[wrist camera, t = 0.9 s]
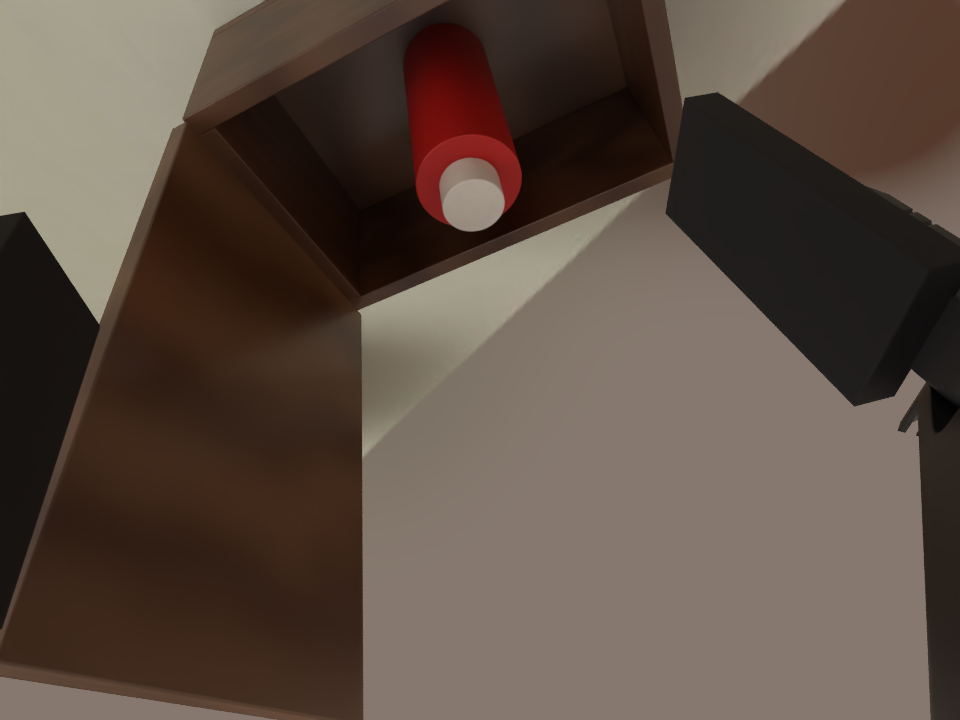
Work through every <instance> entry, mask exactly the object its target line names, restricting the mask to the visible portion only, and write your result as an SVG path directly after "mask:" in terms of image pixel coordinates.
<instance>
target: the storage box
mask: <svg viewBox="0 0 960 720" xmlns="http://www.w3.org/2000/svg"><path fill="white" fill-rule="evenodd" d="M440 23H451V24H456V25H460V26H462V27H464V28H466V29H468V30H469V31H471V32H472V33H473V34H474V35H475V36H476V37H477V38H478V39H479V41H480V42H481V43H482V45H483V47H484V50H485V53H486V56H487V59H488V62H489V66H490V69H491V72H492V75H493V79H494V82H495V85H496V88H497V92H498V95H499V98H500V101H501V105H502V108H503V111H504V114H505V118H506V121H507V124H508V128H509V131H510V134H511V137H512V141H513V144H514V147H515V150H516V154H517V157H518V160H519V163H520V167H521V172H522V181H521V187H520V191H519V193H518V195H517V198H516V199H515V201H514V203H513V204H512V205H511V206H510V208H509V209H508V210H507V211H506V212H505V213H503V214H502V215H501V216H500V218H499V219H498V220H497V221H496V222H495V223H494V224H493V225H491V226H490V227H488V228H486V229H483V230H479V231H463V230H460V229H457V228H455V227H454V226H452V225H448V224H445V223H443V222H440V221H439V220H437V219H435V218H434V217H433V216H431V215H430V214H429V213H428V212H427V211H426V210H425V209H424V207H423V206H422V205H421V203H420V201H419V198H418V196H417V192H416V185H415V176H414V166H413V157H412V147H411V138H410V128H409V119H408V109H407V100H406V90H405V81H404V71H403V63H404V57H405V53H406V50H407V48H408V46H409V44H410V43H411V41H412V40H413V38H414V37H415V36H416V35H417V34H418V33H420V32H421V31H422V30H424V29H425V28H427V27H430V26H432V25H435V24H440ZM682 112H683V108H682V102H681V96H680V90H679V84H678V78H677V72H676V66H675V60H674V54H673V48H672V42H671V36H670V30H669V25H668V19H667V13H666V7H665V1H664V0H266V1H264V2H262V3H261V4H259V5H257V6H256V7H254V8H252V9H250V10H249V11H247V12H245V13H244V14H242V15H240V16H238V17H237V18H235V19H233V20H232V21H230V22H228V23H226V24H225V25H223V26H221V27H220V28H218V29H216V30H215V31H214V33H213V36H212V39H211V41H210V44H209V47H208V50H207V52H206V55H205V58H204V61H203V63H202V66H201V69H200V72H199V74H198V77H197V80H196V83H195V85H194V88H193V91H192V94H191V96H190V99H189V102H188V105H187V107H186V110H185V113H184V116H183V118H182V119H183V120H184V122H188V123H189V124H190V125H191V127H192V128H193V129H194V130H195V131H196V132H197V133H198V134H199V135H200V137H201V138H202V139H203V140H204V141H205V142H206V143H207V144H208V145H209V147H210V148H211V149H212V150H213V151H214V152H215V153H216V154H217V155H218V156H219V158H220V159H221V160H222V161H223V162H224V163H225V164H226V165H227V166H228V168H229V169H230V170H231V171H232V172H233V173H234V174H235V175H236V176H237V178H238V179H239V180H240V181H241V182H242V183H243V184H244V185H245V186H246V188H247V189H248V190H249V191H250V192H251V193H252V194H253V195H254V196H255V198H256V199H257V200H258V201H259V202H260V203H261V204H262V205H263V206H264V208H265V209H266V210H267V211H268V212H269V213H270V214H271V215H272V216H273V218H274V219H275V220H276V221H277V222H278V223H279V224H280V225H281V226H282V227H283V229H284V230H285V231H286V232H287V233H288V234H289V235H290V236H291V237H292V239H293V240H294V241H295V242H296V243H297V244H298V245H299V246H300V247H301V249H302V250H303V251H304V252H305V253H306V254H307V255H308V256H309V257H310V259H311V260H312V261H313V262H314V263H315V264H316V265H317V266H318V267H319V269H320V270H321V271H322V272H323V273H324V274H325V275H326V276H327V277H328V279H329V280H330V281H331V282H332V283H333V284H334V285H335V286H336V287H337V289H338V290H339V291H340V292H341V293H342V294H343V295H344V296H345V297H346V298H347V300H348V301H349V302H350V303H351V304H352V305H353V306H354V307H355V308H356V310H360V309H362V308H364V307H367V306H369V305H371V304H374V303H376V302H379V301H381V300H383V299H386V298H388V297H390V296H393V295H395V294H397V293H400V292H402V291H405V290H407V289H409V288H412V287H414V286H416V285H419V284H421V283H424V282H426V281H428V280H431V279H433V278H435V277H438V276H440V275H442V274H445V273H447V272H450V271H452V270H454V269H457V268H459V267H461V266H464V265H466V264H469V263H471V262H473V261H476V260H478V259H480V258H483V257H485V256H487V255H490V254H492V253H495V252H497V251H499V250H502V249H504V248H506V247H509V246H511V245H514V244H516V243H518V242H521V241H523V240H525V239H528V238H530V237H532V236H535V235H537V234H540V233H542V232H544V231H547V230H549V229H551V228H554V227H556V226H559V225H561V224H563V223H566V222H568V221H570V220H573V219H575V218H577V217H580V216H582V215H585V214H587V213H589V212H592V211H594V210H596V209H599V208H601V207H604V206H606V205H608V204H611V203H613V202H615V201H618V200H620V199H623V198H625V197H627V196H630V195H632V194H634V193H637V192H639V191H641V190H644V189H646V188H649V187H651V186H653V185H656V184H658V183H660V182H663V181H665V180H668V179H670V178H672V172H673V166H674V160H675V154H676V148H677V142H678V136H679V130H680V124H681V118H682Z"/></svg>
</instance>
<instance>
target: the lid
mask: <svg viewBox="0 0 960 720" xmlns="http://www.w3.org/2000/svg"><path fill="white" fill-rule="evenodd" d="M99 325H100V330H99V333H98V336H97V339H96V342H95V345H94V348H93V351H92V354H91V357H90V360H89V363H88V366H87V369H86V373H85V376H84V379H83V382H82V385H81V388H80V391H79V394H78V397H77V400H76V403H75V406H74V409H73V412H72V416H71V419H70V422H69V425H68V428H67V431H66V434H65V437H64V440H63V443H62V446H61V449H60V452H59V455H58V459H57V462H56V465H55V468H54V471H53V474H52V477H51V480H50V483H49V486H48V489H47V492H46V495H45V499H44V502H43V505H42V508H41V511H40V514H39V517H38V520H37V523H36V526H35V529H34V532H33V535H32V538H31V542H30V545H29V548H28V551H27V554H26V557H25V560H24V563H23V566H22V569H21V572H20V575H19V578H18V581H17V585H16V588H15V591H14V594H13V597H12V600H11V603H10V606H9V609H8V612H7V615H6V618H5V621H4V624H3V628H2V629H0V677H6V678H13V679H19V680H26V681H32V682H39V683H45V684H51V685H58V686H64V687H71V688H77V689H84V690H90V691H97V692H103V693H109V694H116V695H122V696H129V697H136V698H142V699H149V700H155V701H161V702H168V703H174V704H180V705H187V706H193V707H200V708H206V709H213V710H219V711H226V712H232V713H239V714H245V715H251V716H258V717H264V718H271V719H277V720H363V570H362V569H363V567H362V565H363V564H362V563H363V562H362V361H361V314H360V313H359V312H358V311H357V310H356V308H355V307H354V306H353V305H352V304H351V303H350V302H349V301H348V300H347V298H346V297H345V296H344V295H343V294H342V293H341V292H340V291H339V290H338V289H337V287H336V286H335V285H334V284H333V283H332V282H331V281H330V280H329V279H328V277H327V276H326V275H325V274H324V273H323V272H322V271H321V270H320V269H319V267H318V266H317V265H316V264H315V263H314V262H313V261H312V260H311V259H310V257H309V256H308V255H307V254H306V253H305V252H304V251H303V250H302V249H301V247H300V246H299V245H298V244H297V243H296V242H295V241H294V240H293V239H292V237H291V236H290V235H289V234H288V233H287V232H286V231H285V230H284V229H283V227H282V226H281V225H280V224H279V223H278V222H277V221H276V220H275V219H274V218H273V216H272V215H271V214H270V213H269V212H268V211H267V210H266V209H265V208H264V206H263V205H262V204H261V203H260V202H259V201H258V200H257V199H256V198H255V196H254V195H253V194H252V193H251V192H250V191H249V190H248V189H247V188H246V186H245V185H244V184H243V183H242V182H241V181H240V180H239V179H238V178H237V176H236V175H235V174H234V173H233V172H232V171H231V170H230V169H229V168H228V166H227V165H226V164H225V163H224V162H223V161H222V160H221V159H220V158H219V156H218V155H217V154H216V153H215V152H214V151H213V150H212V149H211V148H210V147H209V145H208V144H207V143H206V142H205V141H204V140H203V139H202V138H201V137H200V135H199V134H198V133H197V132H196V131H195V130H194V129H193V128H192V127H191V125H190V124H189V123H188V122H185V123H183V124H181V125H179V126H178V127H176V128H174V129H173V130H172V132H171V135H170V138H169V140H168V143H167V146H166V148H165V151H164V153H163V156H162V159H161V161H160V164H159V167H158V169H157V172H156V175H155V177H154V180H153V183H152V185H151V188H150V191H149V193H148V196H147V199H146V201H145V204H144V207H143V209H142V212H141V215H140V217H139V220H138V223H137V225H136V228H135V231H134V233H133V236H132V239H131V241H130V244H129V247H128V249H127V252H126V255H125V257H124V260H123V263H122V265H121V268H120V271H119V273H118V276H117V278H116V281H115V284H114V286H113V289H112V292H111V294H110V297H109V300H108V302H107V305H106V308H105V310H104V313H103V316H102V318H101V321H100V324H99Z"/></svg>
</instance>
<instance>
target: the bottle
mask: <svg viewBox="0 0 960 720" xmlns="http://www.w3.org/2000/svg"><path fill="white" fill-rule="evenodd" d="M403 71H404V81H405V90H406V100H407V109H408V119H409V128H410V138H411V147H412V157H413V166H414V176H415V185H416V192H417V196H418V198H419V201H420V203H421V205H422V206H423V207H424V209H425V210H426V211H427V212H428V213H429V214H430V215H431V216H433V217H434V218H435V219H437V220H439V221H440V222H443V223H445V224H448V225H452V226H454V227H455V228H457V229H460V230H463V231H479V230H483V229H486V228H488V227H490V226H491V225H493V224H494V223H495V222H496V221H497V220H498V219H499V218H500V216H501V215H502V214H503V213H505V212H506V211H507V210H508V209H509V208H510V206H511V205H512V204H513V203H514V201H515V199H516V198H517V195H518V193H519V191H520V187H521V181H522V172H521V167H520V163H519V160H518V157H517V154H516V150H515V147H514V144H513V141H512V137H511V134H510V131H509V128H508V124H507V121H506V118H505V114H504V111H503V108H502V105H501V101H500V98H499V95H498V92H497V88H496V85H495V82H494V79H493V75H492V72H491V69H490V66H489V62H488V59H487V56H486V53H485V50H484V47H483V45H482V43H481V42H480V41H479V39H478V38H477V37H476V36H475V35H474V34H473V33H472V32H471V31H469V30H468V29H466V28H464V27H462V26H460V25H456V24H451V23H440V24H435V25H432V26H430V27H427V28H425V29H424V30H422V31H421V32H420V33H418V34H417V35H416V36H415V37H414V38H413V40H412V41H411V43H410V44H409V46H408V48H407V50H406V53H405V57H404V63H403Z"/></svg>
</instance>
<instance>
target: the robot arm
mask: <svg viewBox="0 0 960 720" xmlns="http://www.w3.org/2000/svg"><path fill="white" fill-rule="evenodd" d="M912 210H913V209H911V208H910V207H908V206H907V205H905V204H904V203H902V202H900V201H899V200H897V199H896V198H894V197H892V196H891V195H889V194H886V193H883V192H881V191H878V190H875V189H872V188H869V187H866V186H864V185H863V184H861V183H860V182H858V181H856V180H855V179H853V178H852V177H850V176H849V175H847V174H845V173H843V172H842V171H840V170H839V169H837V168H836V167H834V166H833V165H831V164H830V163H828V162H826V161H825V160H823V159H822V158H820V157H819V156H817V155H815V154H814V153H812V152H811V151H809V150H807V149H806V148H804V147H803V146H801V145H800V144H798V143H796V142H795V141H793V140H792V139H790V138H789V137H787V136H785V135H784V134H782V133H781V132H779V131H778V130H776V129H774V128H773V127H771V126H770V125H768V124H767V123H765V122H763V121H762V120H760V119H759V118H757V117H756V116H754V115H752V114H751V113H749V112H748V111H746V110H744V109H743V108H741V107H740V106H738V105H737V104H735V103H734V102H732V101H730V100H729V99H727V98H726V97H724V96H723V95H721V94H719V93H718V92H717V93H711V94H706V95H700V96H694V97H688V98H685V100H684V106H683V112H682V118H681V124H680V130H679V136H678V142H677V148H676V154H675V160H674V166H673V172H672V178H671V185H670V191H669V196H668V202H667V208H666V214H667V215H668V216H669V217H670V218H671V219H672V220H673V221H674V222H675V224H676V225H677V226H678V227H680V229H681V230H682V231H683V232H684V233H685V234H686V235H687V236H688V237H689V238H690V239H691V240H692V241H693V242H694V243H695V244H696V245H697V246H698V247H699V248H700V249H701V250H702V251H703V252H704V253H705V254H706V255H707V256H708V257H709V258H710V259H711V260H712V261H713V262H714V263H715V264H716V265H717V266H718V268H720V270H722V272H723V273H724V274H725V275H726V276H728V278H729V279H730V280H731V281H732V282H733V283H734V284H735V285H736V286H737V287H738V288H739V289H740V290H741V291H742V292H743V293H744V294H745V295H746V296H747V297H748V298H749V299H750V300H751V301H752V302H753V303H754V304H755V305H756V306H757V307H758V308H759V309H760V311H761V312H763V314H764V315H765V316H766V317H767V318H768V319H769V320H770V321H771V322H772V323H773V324H774V325H775V326H777V328H778V329H779V330H780V331H781V332H782V333H783V334H784V335H785V336H786V337H787V338H788V339H789V340H790V341H791V342H792V343H793V344H794V345H795V346H796V347H797V348H798V349H799V350H800V351H801V352H802V353H803V354H804V356H805V357H806V358H807V359H808V360H809V361H810V362H811V363H812V364H813V365H814V366H815V367H816V368H817V369H818V370H819V371H820V372H821V373H822V374H823V375H824V376H825V377H826V378H827V379H828V380H829V381H830V382H831V383H832V384H833V385H834V386H835V387H836V388H837V389H838V390H839V391H840V392H841V393H842V394H843V395H844V396H845V398H847V400H848V401H849V402H850V403H851V404H853V406H858V405H862V404H866V403H870V402H873V401H877V400H881V399H885V398H889V397H893V396H895V394H896V392H897V391H898V389H899V387H900V386H901V384H902V383H903V381H904V379H905V378H906V376H907V374H908V373H909V371H910V370H911V369H912V370H913V371H914V372H916V373H917V374H918V375H919V376H920V377H921V378H923V379H924V380H925V381H926V383H925V385H924V386H923V388H922V389H921V391H920V393H919V394H918V396H917V397H916V399H915V400H914V402H913V404H912V405H911V407H910V408H909V410H908V411H907V413H906V414H905V416H904V417H903V419H902V421H901V422H900V425H899V428H898V431H901V432H906V431H907V429H908V428H909V426H910V425H911V423H912V422H914V421H916V420H918V428H919V431H918V432H917V434H916V436H919V451H920V452H919V453H920V474H921V475H920V477H921V499H922V524H923V547H924V569H925V594H926V618H927V642H928V665H929V689H930V713H931V720H960V238H958V237H956V236H955V235H953V234H952V233H950V232H948V231H946V230H945V229H944V228H942V227H940V226H939V225H937V224H935V225H932V223H931V222H932V221H931V220H929V219H928V218H926V217H924V216H923V215H921V214H920V213H918V212H915V213H913V212H912ZM99 330H100V325H99V324H98V322H97V321H96V319H95V318H94V316H93V315H92V313H91V311H90V310H89V308H88V307H87V305H86V304H85V302H84V301H83V299H82V298H81V296H80V295H79V293H78V292H77V290H76V289H75V287H74V286H73V284H72V283H71V281H70V280H69V278H68V277H67V275H66V274H65V272H64V271H63V269H62V268H61V266H60V265H59V263H58V262H57V260H56V259H55V257H54V255H53V254H52V252H51V251H50V249H49V248H48V246H47V245H46V243H45V242H44V240H43V239H42V237H41V236H40V234H39V233H38V231H37V230H36V228H35V227H34V225H33V224H32V222H31V221H30V219H29V218H28V216H27V215H26V213H25V212H21V213H15V214H9V215H3V216H0V629H2V628H3V624H4V621H5V618H6V615H7V612H8V609H9V606H10V603H11V600H12V597H13V594H14V591H15V588H16V585H17V581H18V578H19V575H20V572H21V569H22V566H23V563H24V560H25V557H26V554H27V551H28V548H29V545H30V542H31V538H32V535H33V532H34V529H35V526H36V523H37V520H38V517H39V514H40V511H41V508H42V505H43V502H44V499H45V495H46V492H47V489H48V486H49V483H50V480H51V477H52V474H53V471H54V468H55V465H56V462H57V459H58V455H59V452H60V449H61V446H62V443H63V440H64V437H65V434H66V431H67V428H68V425H69V422H70V419H71V416H72V412H73V409H74V406H75V403H76V400H77V397H78V394H79V391H80V388H81V385H82V382H83V379H84V376H85V373H86V369H87V366H88V363H89V360H90V357H91V354H92V351H93V348H94V345H95V342H96V339H97V336H98V333H99Z"/></svg>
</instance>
